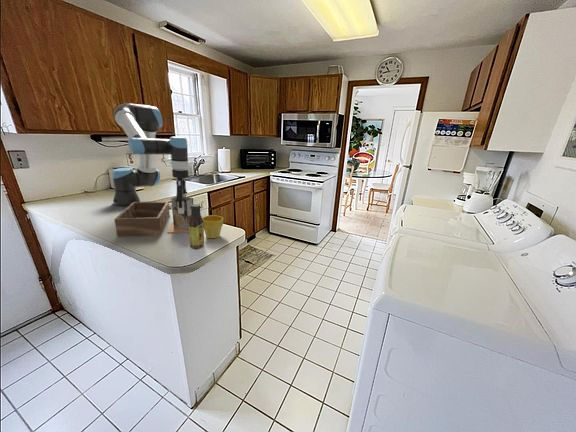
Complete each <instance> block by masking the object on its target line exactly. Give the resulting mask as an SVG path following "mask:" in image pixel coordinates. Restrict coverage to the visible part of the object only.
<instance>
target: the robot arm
mask: <svg viewBox="0 0 576 432" xmlns="http://www.w3.org/2000/svg"><path fill="white" fill-rule="evenodd" d="M113 118H114V121H115V123H117V124H118V125H119V127H121V128H122V129H123V131H124V132H125V134H126V136H127V137H128V142H127V143H128V148H129V151H130V153H131V154H132V155H138V156H139V165H137V169H134V168H133V167H118V168H115V169H113V170H112V172H111V173H112V174H111V175H112V177H111V178H112V181H113V182H112V183H113V188H114V196H113V200H112V205H114V206H116V207H117V206H118V207H128V206H129V205H130V204H131V203H133V202H141V199H140V196H139V195H138V193H137V191H136V189H137V188H142V187H153V186H154V187H155V186H158V185H159V184H160V183H161V173H160V170H159V169H158V168H157V167H156V163H155V162H156V155H159V156H161V155H169V156H170V160H171V161H170V162H169V163H170V164H171V168H172V169H171V172H172V173H171V174H172V177H173V178H177V180H176V197H177V200H176V202H177V204H178V214H184V202H183V197H187V194H188V191H187V186H186V182H187V181H186V178H189V159H188V158H189V157H188V156H189V154H188V152H189V151H188V147H189V146H188V140H187V138H186V137H184V136H183V137H182V136H170V137H169V138H156V133H158V132H159V128H162V127H163V118H162V114H161V111H160V109H159V108H157V106H151V105H147V104H140V103H139V104H137V103H130V102H126V103H125V102H124V103H121V104H119V105H118V106H117V107H116V108H115V109H114V111H113ZM179 198H181V199H179Z"/></svg>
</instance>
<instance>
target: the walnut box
mask: <svg viewBox="0 0 576 432" xmlns="http://www.w3.org/2000/svg"><path fill="white" fill-rule="evenodd" d="M170 214H171V213H170V204H169V201H140V202H133V203H131V204H130V205H129V206H126V208H125V209H124V210H123V211H122V212H120V214H119V215H117V216H116V217H115V218H114V225H115V229H116V237H118V238H121V237H123V238H125V237H147V236H148V237H149V236H150V237H152V236H162V233H163V232H164V229H165V227H166V226H167V222H169V219H170Z"/></svg>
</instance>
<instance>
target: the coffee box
mask: <svg viewBox="0 0 576 432" xmlns="http://www.w3.org/2000/svg"><path fill="white" fill-rule="evenodd" d="M179 199H181V198H179ZM176 200H177V196H174V197H172V198H171V211H172V212H171V213H172V222H173V224H174V227H175V228H182V229H188V230H189V219H190V217H191V205H193V204H194V198H193V197H188V196H186V197H183V202H184V214H178V204H177V202H176Z"/></svg>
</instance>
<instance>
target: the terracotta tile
mask: <svg viewBox="0 0 576 432" xmlns="http://www.w3.org/2000/svg"><path fill="white" fill-rule="evenodd" d="M182 233H186V234H187V233H189V230H188V229H182V228H175V227H174V224H173V221H172V222H171V223H170V225H169V228H168V230H167V234H182Z"/></svg>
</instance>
